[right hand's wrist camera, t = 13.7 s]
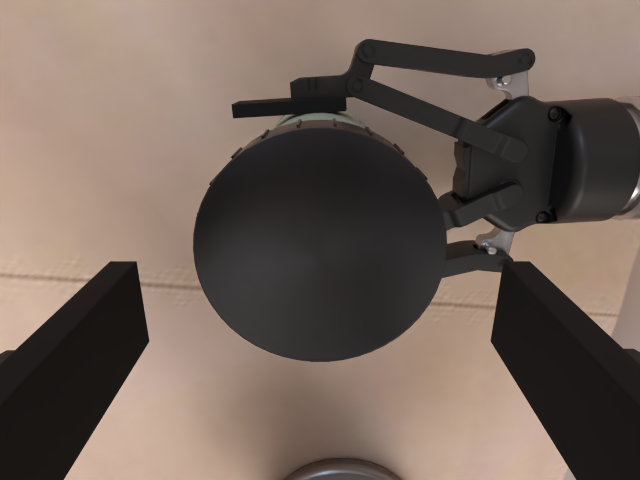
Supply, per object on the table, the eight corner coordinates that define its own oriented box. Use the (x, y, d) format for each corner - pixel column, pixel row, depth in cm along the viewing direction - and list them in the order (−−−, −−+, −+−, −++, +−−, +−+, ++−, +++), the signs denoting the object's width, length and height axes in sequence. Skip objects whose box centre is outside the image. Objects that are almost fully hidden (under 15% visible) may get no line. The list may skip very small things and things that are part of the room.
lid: (478, 183, 18) (500, 199, 16) (366, 361, 21) (372, 395, 19) (261, 72, 17) (252, 73, 14) (174, 282, 20) (156, 308, 17)
